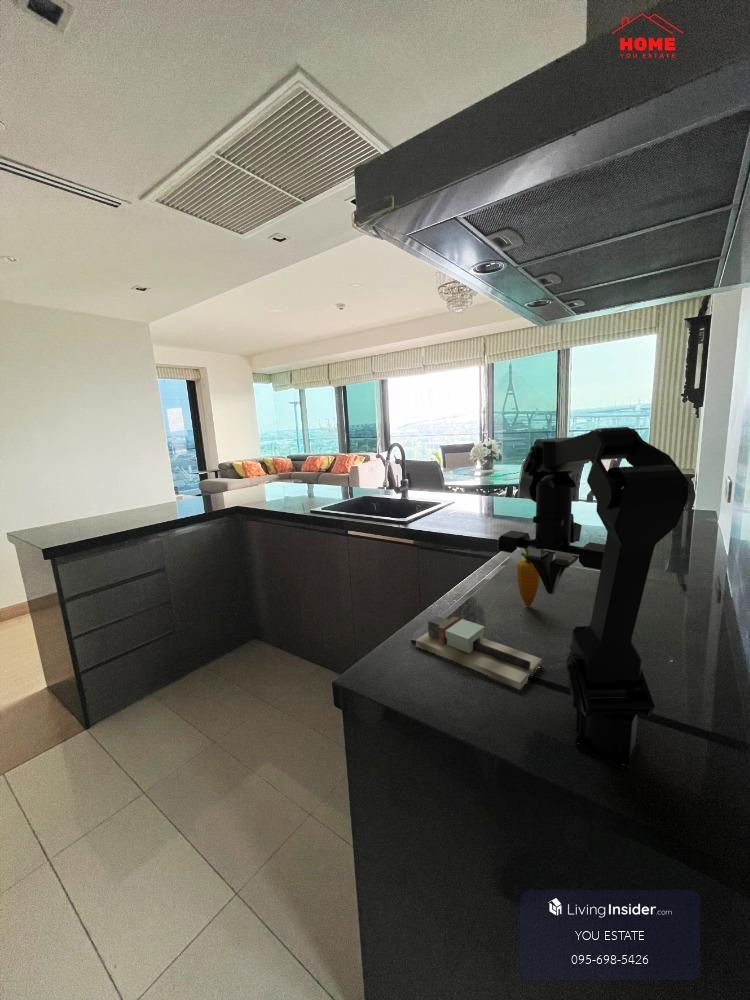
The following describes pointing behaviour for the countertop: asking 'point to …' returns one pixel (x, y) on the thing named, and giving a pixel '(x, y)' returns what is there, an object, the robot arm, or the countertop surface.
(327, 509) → the countertop surface
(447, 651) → the board
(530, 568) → the carrot
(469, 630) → the pale green slider block
